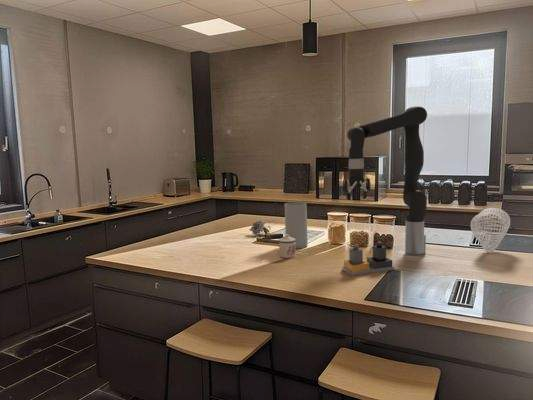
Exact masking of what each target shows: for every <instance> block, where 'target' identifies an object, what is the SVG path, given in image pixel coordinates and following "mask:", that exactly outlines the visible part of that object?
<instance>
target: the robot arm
mask: <svg viewBox="0 0 533 400" xmlns="http://www.w3.org/2000/svg"><path fill="white" fill-rule="evenodd" d="M427 118H428V112H427V110H426V108H425V107H422V106H421V105H420V106H419V105H415V106H411V107H408V108H406V109H405V111H404V112H403V113H401V114H397V115H395V116H394V115H393V116H390V117H386V118H382V119H381V118H380V119H378V120H375V121H372V122H369V123H366V124H364V125H363V124H362V125H359V126H355V127H352V128H350V129H349V130H348V131H347V138H348V140H349V141H350V147H349V149H348V179H343V180H342V192H345V193H346V199H347V200H348V201H351V199H352V198H351V191H352V190H354V189H357V188H358V189H359V188H360V189H361V190H362V199H364V200H366V199H367V197H368V195H367V194H368V193H367V192H368V191H370V190H371V179H370V178H368V177H366V178H364V177H365V160H364V146H365V139H367V138H372V137H377V136H380V135H382V134H385V133H386V134H387V133H388V132H390V131H394V130H397V129H400V128H404V129H403V130H404V185H403V192H402V193H403V194H402V198H403V199H402V200H403V203H404V204H405V205H406V206H407V207H409V211H408V213H407V214H406V215H405V230H404V231H405V234H404V236H405V239H404V240H405V243H404V244H405V248H404V249H405V250H404V252H405V253H406V254H408V255H411V256H413V255H414V256H419V255H423V254H425V253H426V251H427V249H426V246H427V245H426V244H427V243H426V240H427V236H426V234H425V217H426V215H427V203H428V202H427V201H428V199H427V195H426V194H425V192H424V191H422V190H419V177H420V174H421V172H422V169H423V167H424V163H425V161H424V159H425V158H424V155H425V154H424V153H425V152H424V148H423V147H424V146H423V144H422V141H421V138H420V125H421V124H423V123H425V121H427ZM364 183H365V185H364ZM348 184H349V185H348Z"/></svg>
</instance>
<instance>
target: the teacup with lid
mask: <svg viewBox="0 0 533 400" xmlns="http://www.w3.org/2000/svg"><path fill="white" fill-rule="evenodd" d="M278 247H279V249H278V252H279V253H278V255H279V257H280V258H282V259H283V258H284V259H292V258H295V257H296V255H297V254H296V249H295V247H296V240H295V238H292V237H290V236H289V235H288V234H286V233H285V234H284V236H283V237H281V238H278Z"/></svg>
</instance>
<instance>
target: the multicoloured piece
mask: <svg viewBox="0 0 533 400" xmlns="http://www.w3.org/2000/svg"><path fill="white" fill-rule="evenodd" d="M341 269H342V271H343V272H345V273H346V274H347V275H349V276H358V275H364V274H372V273H379V272H380V273H381V272H388V271H394V270H395V266H394V265H393V260H392V259H390V258H389V257H387V246H384V245H383V241H376V245H372V256H369V257H366V260H364V259H363V263H362V264H354V265H353V264H351V263H350V259H347V260H345V259H344V260H343V266H342V267H341Z"/></svg>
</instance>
